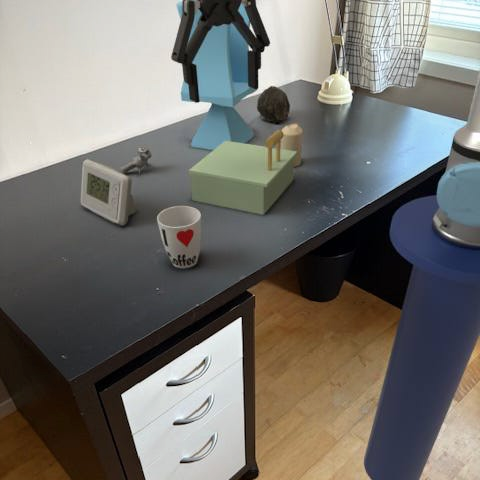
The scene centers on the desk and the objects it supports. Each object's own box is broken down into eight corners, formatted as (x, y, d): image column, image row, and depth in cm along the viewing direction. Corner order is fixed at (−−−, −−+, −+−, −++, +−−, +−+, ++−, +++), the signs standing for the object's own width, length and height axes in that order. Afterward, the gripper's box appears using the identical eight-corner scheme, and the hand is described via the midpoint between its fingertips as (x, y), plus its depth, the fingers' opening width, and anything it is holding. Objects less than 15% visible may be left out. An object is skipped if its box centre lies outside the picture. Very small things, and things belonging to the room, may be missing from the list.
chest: (292, 180, 120) (293, 154, 115) (263, 215, 107) (263, 187, 103) (226, 169, 126) (225, 143, 122) (192, 200, 114) (189, 173, 109)
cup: (159, 271, 92) (151, 226, 86) (171, 248, 98) (164, 204, 92) (199, 274, 91) (194, 229, 85) (209, 251, 97) (205, 207, 90)
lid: (297, 154, 115) (298, 121, 110) (266, 187, 103) (267, 152, 97) (225, 143, 122) (223, 112, 116) (189, 173, 109) (185, 139, 104)
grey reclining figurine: (120, 166, 130) (149, 150, 130) (131, 186, 130) (160, 169, 130) (111, 155, 120) (142, 138, 120) (123, 176, 120) (154, 159, 120)
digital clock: (79, 206, 113) (67, 162, 106) (114, 194, 117) (104, 152, 110) (109, 233, 104) (97, 188, 96) (145, 220, 107) (137, 175, 100)
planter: (234, 155, 133) (228, 7, 109) (186, 147, 138) (171, 4, 115) (257, 135, 143) (256, -4, 120) (212, 129, 148) (202, -6, 125)
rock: (276, 124, 147) (275, 89, 141) (251, 121, 154) (250, 87, 149) (298, 120, 152) (298, 85, 147) (273, 117, 160) (273, 84, 154)
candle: (292, 157, 130) (293, 119, 124) (305, 163, 127) (307, 125, 120) (276, 162, 128) (276, 124, 122) (289, 169, 125) (290, 130, 118)
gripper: (265, -46, 88) (265, 78, 102) (140, -34, 79) (160, 101, 93) (289, -44, 83) (286, 86, 97) (159, -30, 74) (176, 112, 88)
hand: (224, 94), depth 95 cm, fingers open, 13 cm apart
